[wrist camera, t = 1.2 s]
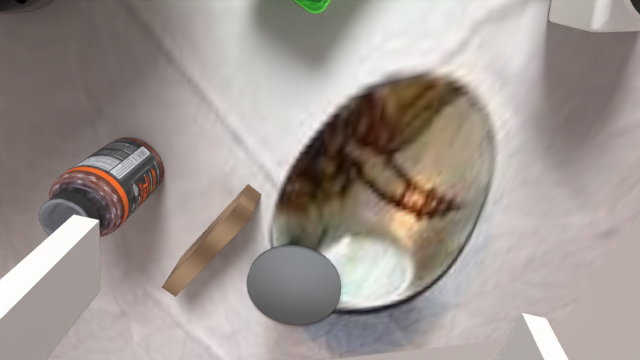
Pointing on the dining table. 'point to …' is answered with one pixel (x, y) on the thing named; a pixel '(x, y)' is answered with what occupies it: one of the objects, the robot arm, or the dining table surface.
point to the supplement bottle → (104, 186)
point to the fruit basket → (313, 5)
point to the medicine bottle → (597, 14)
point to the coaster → (294, 284)
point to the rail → (212, 240)
